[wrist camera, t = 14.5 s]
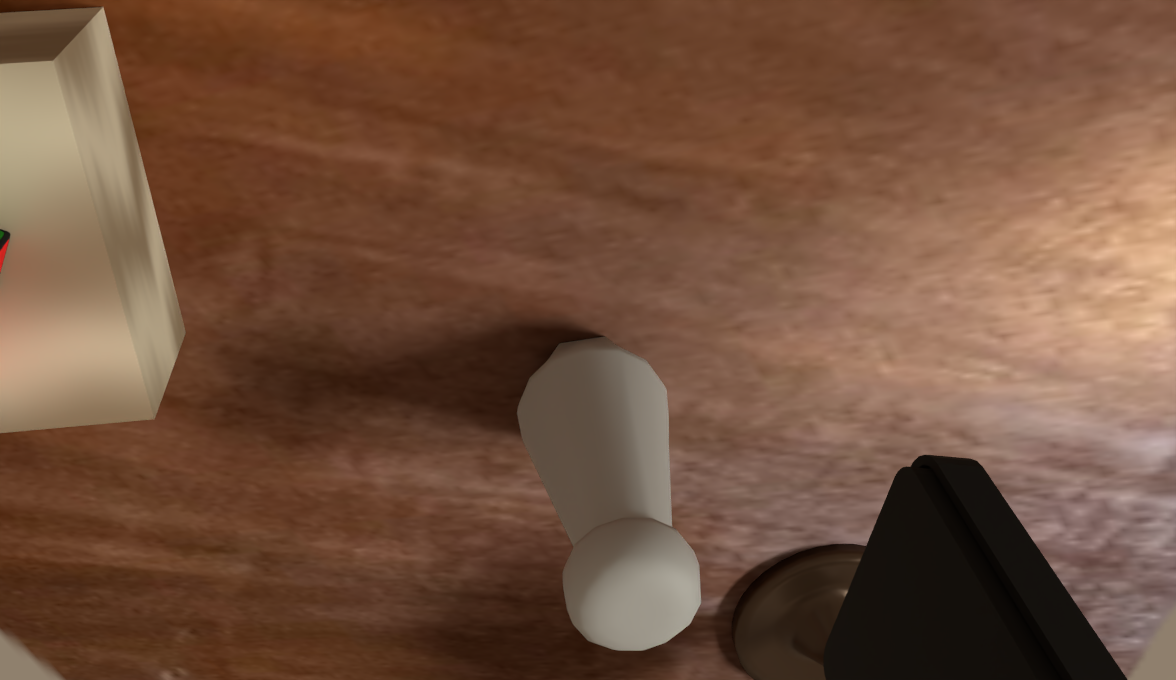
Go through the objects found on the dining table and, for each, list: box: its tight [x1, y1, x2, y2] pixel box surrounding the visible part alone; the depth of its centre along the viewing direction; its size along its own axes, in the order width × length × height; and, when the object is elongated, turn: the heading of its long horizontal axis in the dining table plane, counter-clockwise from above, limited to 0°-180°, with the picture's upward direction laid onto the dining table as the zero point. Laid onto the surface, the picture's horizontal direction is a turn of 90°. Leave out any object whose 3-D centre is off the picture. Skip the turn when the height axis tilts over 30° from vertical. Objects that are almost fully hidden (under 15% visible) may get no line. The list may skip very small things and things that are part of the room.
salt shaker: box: [517, 336, 701, 651], centre depth 39 cm, size 6×6×13 cm
